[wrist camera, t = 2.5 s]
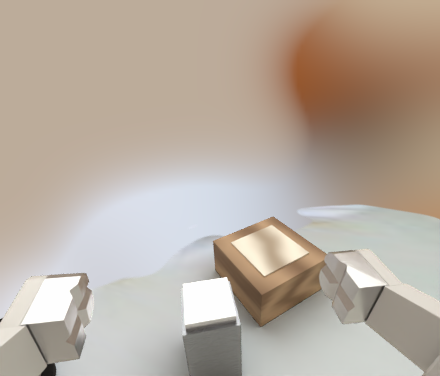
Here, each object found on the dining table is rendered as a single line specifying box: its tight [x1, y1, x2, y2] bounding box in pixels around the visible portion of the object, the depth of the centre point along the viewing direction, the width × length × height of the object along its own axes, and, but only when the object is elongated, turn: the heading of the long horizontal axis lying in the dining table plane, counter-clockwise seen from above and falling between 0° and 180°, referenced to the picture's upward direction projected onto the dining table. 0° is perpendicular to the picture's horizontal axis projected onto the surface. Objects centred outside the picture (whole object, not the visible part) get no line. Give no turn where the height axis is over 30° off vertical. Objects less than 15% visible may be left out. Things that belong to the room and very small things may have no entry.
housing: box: [181, 277, 242, 376], centre depth 28 cm, size 6×6×10 cm
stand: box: [213, 217, 327, 327], centre depth 40 cm, size 12×12×6 cm
